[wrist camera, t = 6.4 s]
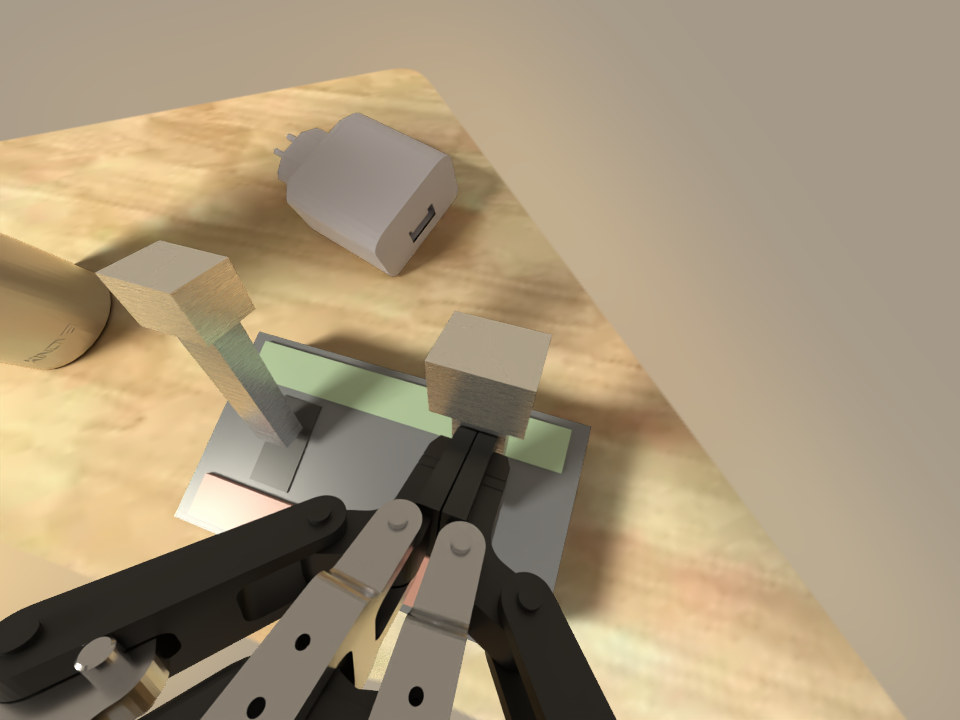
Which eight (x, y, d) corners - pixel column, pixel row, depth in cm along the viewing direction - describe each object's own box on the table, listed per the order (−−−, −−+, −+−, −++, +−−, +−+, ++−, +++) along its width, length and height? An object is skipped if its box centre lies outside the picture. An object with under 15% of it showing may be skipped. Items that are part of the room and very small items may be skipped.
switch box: (533, 627, 21) (536, 671, 17) (228, 505, 25) (169, 517, 21) (579, 430, 23) (592, 426, 19) (296, 348, 27) (255, 330, 23)
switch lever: (498, 533, 17) (536, 391, 9) (438, 512, 18) (424, 360, 10) (510, 488, 19) (551, 334, 11) (454, 470, 19) (454, 310, 11)
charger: (330, 130, 33) (460, 195, 29) (266, 203, 31) (395, 281, 28) (299, 78, 28) (449, 148, 25) (223, 162, 27) (371, 248, 23)
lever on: (290, 459, 19) (169, 293, 11) (242, 442, 20) (94, 272, 12) (317, 424, 21) (228, 257, 13) (271, 409, 22) (159, 240, 13)
